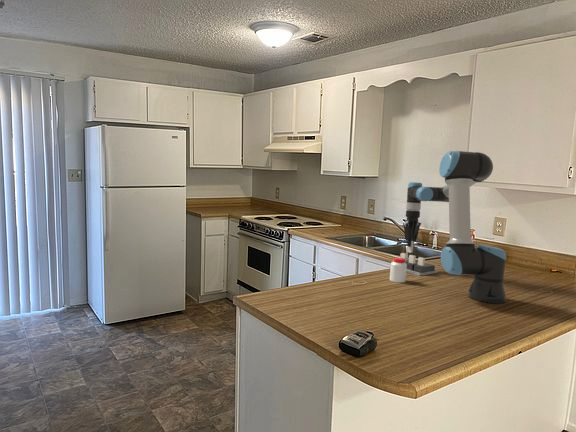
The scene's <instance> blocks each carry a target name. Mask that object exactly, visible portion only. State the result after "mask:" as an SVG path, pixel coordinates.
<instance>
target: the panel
mask: <svg viewBox="0 0 576 432" xmlns="http://www.w3.org/2000/svg"><path fill="white" fill-rule="evenodd" d="M405 263H406V264H407V271H406V274H407V273H408V274H411V275H415V276H418V277H420V276H425V275H426V276H427V275H431V274H433V275H434V274H436V273H437V274H438V273H439V270H438V269H436V268H435V267H436V265H435V264H431V263H427V262H425V265H424V266H420V265H418V260H415V263H414V264H413V263H409V258H407V261H405Z"/></svg>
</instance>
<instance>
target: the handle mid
mask: <svg viewBox="0 0 576 432" xmlns="http://www.w3.org/2000/svg"><path fill="white" fill-rule="evenodd" d="M416 258H417V257H416V255H413V254H409V255H408V259H409V263H413V264H414V263H415V260H416ZM416 261H417V260H416Z"/></svg>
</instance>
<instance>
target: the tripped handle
mask: <svg viewBox="0 0 576 432" xmlns="http://www.w3.org/2000/svg"><path fill="white" fill-rule="evenodd" d="M399 258H404V259H405V261H407V259H408V254H407V253H406V252H401V253H400V255H399Z"/></svg>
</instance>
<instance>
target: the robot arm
mask: <svg viewBox="0 0 576 432" xmlns="http://www.w3.org/2000/svg"><path fill="white" fill-rule="evenodd" d="M438 167H439V169H438V172H439V175H440V177H442V178H443V179H444V183H445V185H444V186H441V187H439V186H423V183H422V182H414V181H413V182H412V181H409V182H408V184H407V189H406V190H407V192H406V193H407V194H406V195H407V196H406V211H405V217H406V219H405V222H403V223H402V225H403V233H404V240H405V241H407V245H406V246H407V249H406V250H407V251H406V252H407V253H411V254H412V253H413V252H414V246H415V244H414V243H415V242H416V241H417V239H418V236H419V232H420V227H421V225H422V222H420V221H419V219H420V217H421V205H422V202H439V203H440V202H441V203H448V216H449V217H448V220H449V221H448V222H449V223H448V224H449V226H448V227H449V229H448V230H449V231H448V232H449V233H448V234H449V240H447V242H446V243H445V247H443V248H442V249H441V252H440V263H441V265H442V268H443V270H445V271H444V272H446V273H447V274H449V275H456V276H463V275H464V276H474V277H473V280H472V282H471V284H470V286H469V289H468V292H467V297H469V298H470V299H472V300H474V301H478V302H481V301H483V303H487V302H488V303H487V304H504V303H506V301H507V300H506V299H507V295H506V291H505V286H504V276H505V269H506V261H507V253H506V250H504V249H503V248H500V247H495V246H492V245H487V244H479V243H478V244H477V246H476V245H475V242H474V241H473V240H472V234H471V233H472V231H471V193H470V192H471V191H470V190H471V189H470V187H472V186H473V185H475V184H477V183H482V182H484V181H486V180H487V179H488V178H490V176H491V175H492V174H493V173H492V172H493V170H494V164H493V160H492V159H491V157H490V156H488V155H487V154H485V153H483V152H480V151H479V152H477V151H476V152H474V151H463V150H462V151H461V150H450V151H447V152H446V153H445V154H444V155H443V156H442V157H441V159H440V163H439V166H438ZM475 246H476V247H475ZM503 302H504V303H503Z"/></svg>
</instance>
